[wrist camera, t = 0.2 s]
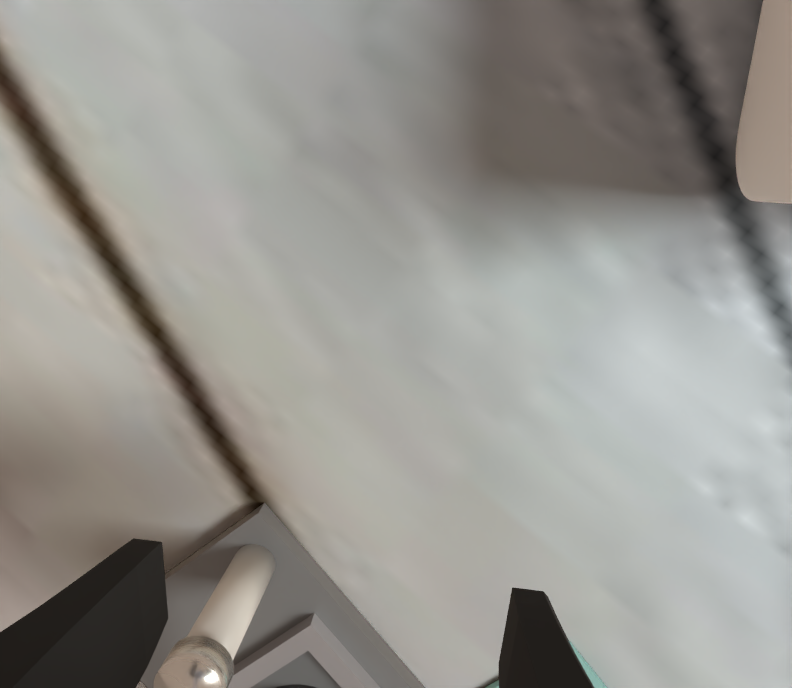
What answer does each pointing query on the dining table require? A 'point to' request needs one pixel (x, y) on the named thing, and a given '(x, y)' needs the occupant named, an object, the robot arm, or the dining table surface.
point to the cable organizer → (768, 110)
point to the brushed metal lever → (196, 665)
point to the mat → (596, 681)
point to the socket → (274, 614)
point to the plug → (296, 686)
